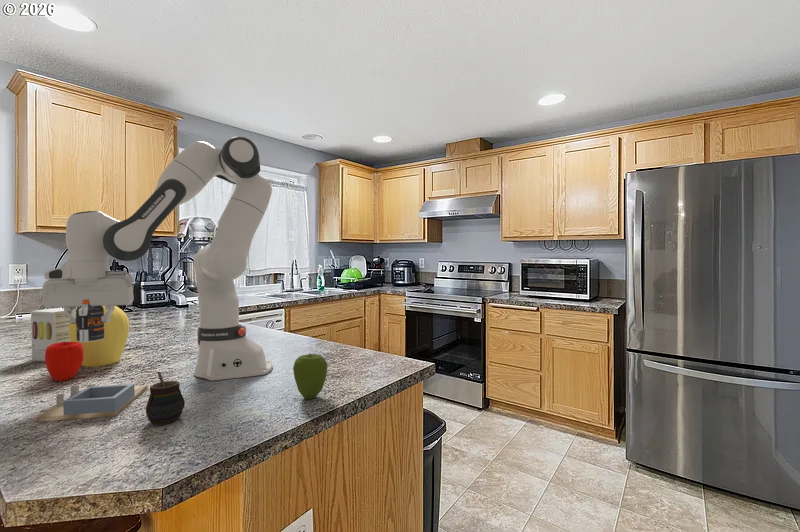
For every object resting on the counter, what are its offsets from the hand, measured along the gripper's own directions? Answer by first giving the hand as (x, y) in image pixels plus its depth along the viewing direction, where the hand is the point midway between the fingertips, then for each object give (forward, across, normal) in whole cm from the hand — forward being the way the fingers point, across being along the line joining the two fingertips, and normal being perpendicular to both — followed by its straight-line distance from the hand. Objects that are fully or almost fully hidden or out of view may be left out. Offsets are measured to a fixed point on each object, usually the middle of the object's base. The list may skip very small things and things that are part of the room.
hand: (90, 322), depth 108 cm
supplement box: (+18, +28, -38) cm, 51 cm away
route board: (+18, -8, +14) cm, 24 cm away
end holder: (+18, -10, +18) cm, 27 cm away
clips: (+17, -3, +13) cm, 21 cm away
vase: (+18, +10, -28) cm, 34 cm away
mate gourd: (+18, -26, +28) cm, 43 cm away
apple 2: (+18, -58, +21) cm, 64 cm away
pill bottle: (+5, 0, 0) cm, 5 cm away
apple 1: (+18, +12, -10) cm, 23 cm away
